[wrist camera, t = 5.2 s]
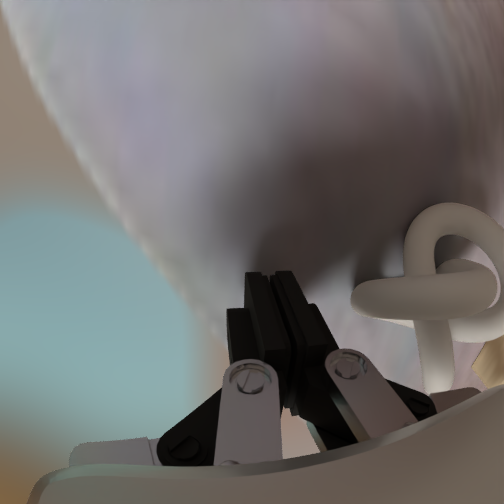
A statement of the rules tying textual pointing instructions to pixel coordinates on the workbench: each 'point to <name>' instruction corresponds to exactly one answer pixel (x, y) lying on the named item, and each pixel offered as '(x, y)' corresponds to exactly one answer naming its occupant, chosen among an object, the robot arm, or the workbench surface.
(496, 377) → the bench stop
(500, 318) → the knot
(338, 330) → the workbench surface
